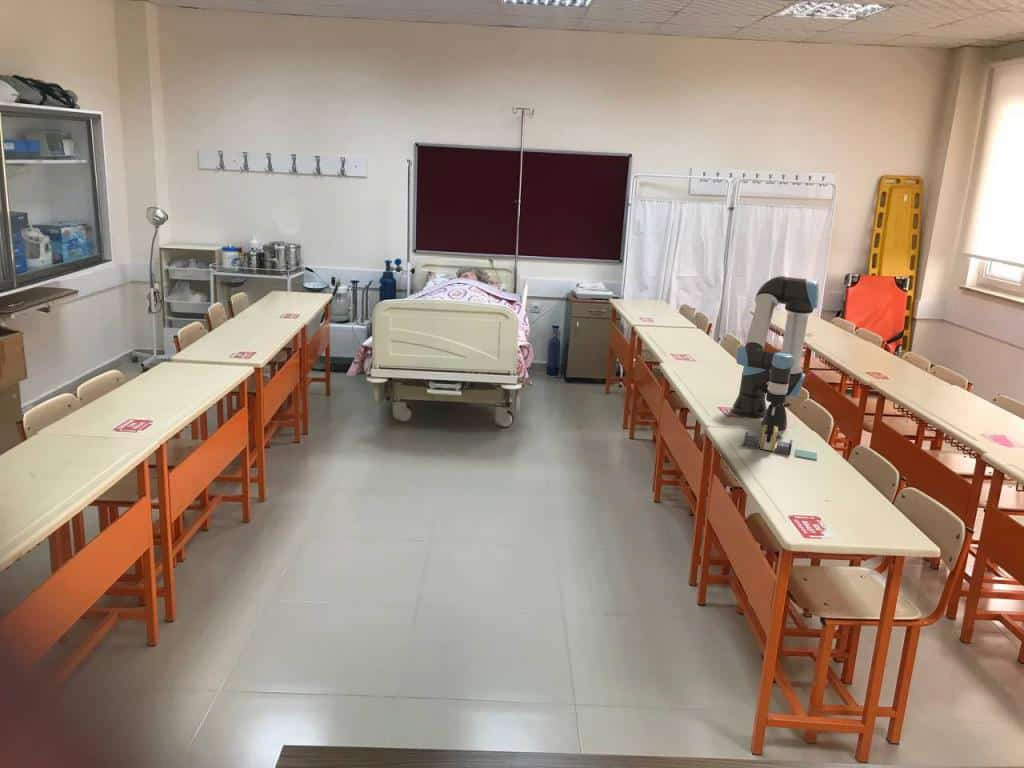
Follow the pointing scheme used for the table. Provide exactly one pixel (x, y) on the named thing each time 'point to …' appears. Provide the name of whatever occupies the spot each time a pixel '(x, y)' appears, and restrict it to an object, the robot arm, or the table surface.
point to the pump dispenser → (778, 419)
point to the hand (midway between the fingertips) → (767, 446)
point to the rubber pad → (806, 454)
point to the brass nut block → (772, 438)
